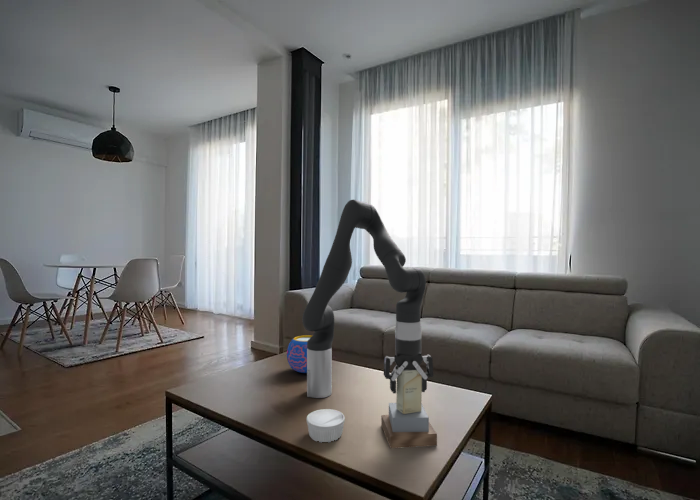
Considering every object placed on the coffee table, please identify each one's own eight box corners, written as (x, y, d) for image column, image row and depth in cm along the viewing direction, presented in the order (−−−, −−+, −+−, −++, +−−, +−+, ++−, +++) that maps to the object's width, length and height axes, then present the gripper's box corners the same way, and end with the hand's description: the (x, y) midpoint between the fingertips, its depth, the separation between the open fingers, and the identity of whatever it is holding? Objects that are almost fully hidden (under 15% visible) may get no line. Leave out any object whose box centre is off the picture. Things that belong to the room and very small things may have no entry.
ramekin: (340, 446, 100) (340, 427, 100) (301, 443, 101) (301, 424, 101) (347, 427, 111) (347, 410, 111) (312, 424, 112) (312, 407, 113)
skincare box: (403, 414, 103) (403, 371, 103) (395, 408, 107) (395, 367, 107) (422, 411, 105) (422, 369, 105) (414, 405, 109) (414, 364, 109)
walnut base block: (390, 451, 99) (390, 436, 99) (381, 428, 112) (381, 415, 112) (437, 448, 100) (436, 433, 100) (422, 425, 113) (422, 412, 113)
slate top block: (392, 432, 101) (392, 417, 101) (388, 415, 111) (388, 402, 111) (428, 432, 101) (428, 417, 101) (421, 415, 111) (421, 402, 111)
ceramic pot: (333, 368, 167) (333, 335, 167) (313, 380, 150) (313, 344, 150) (300, 363, 174) (300, 332, 174) (278, 375, 158) (278, 340, 158)
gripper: (386, 340, 101) (387, 398, 101) (436, 338, 103) (436, 395, 103) (381, 334, 109) (381, 388, 109) (427, 332, 110) (428, 386, 110)
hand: (408, 391), depth 106 cm, fingers open, 8 cm apart
